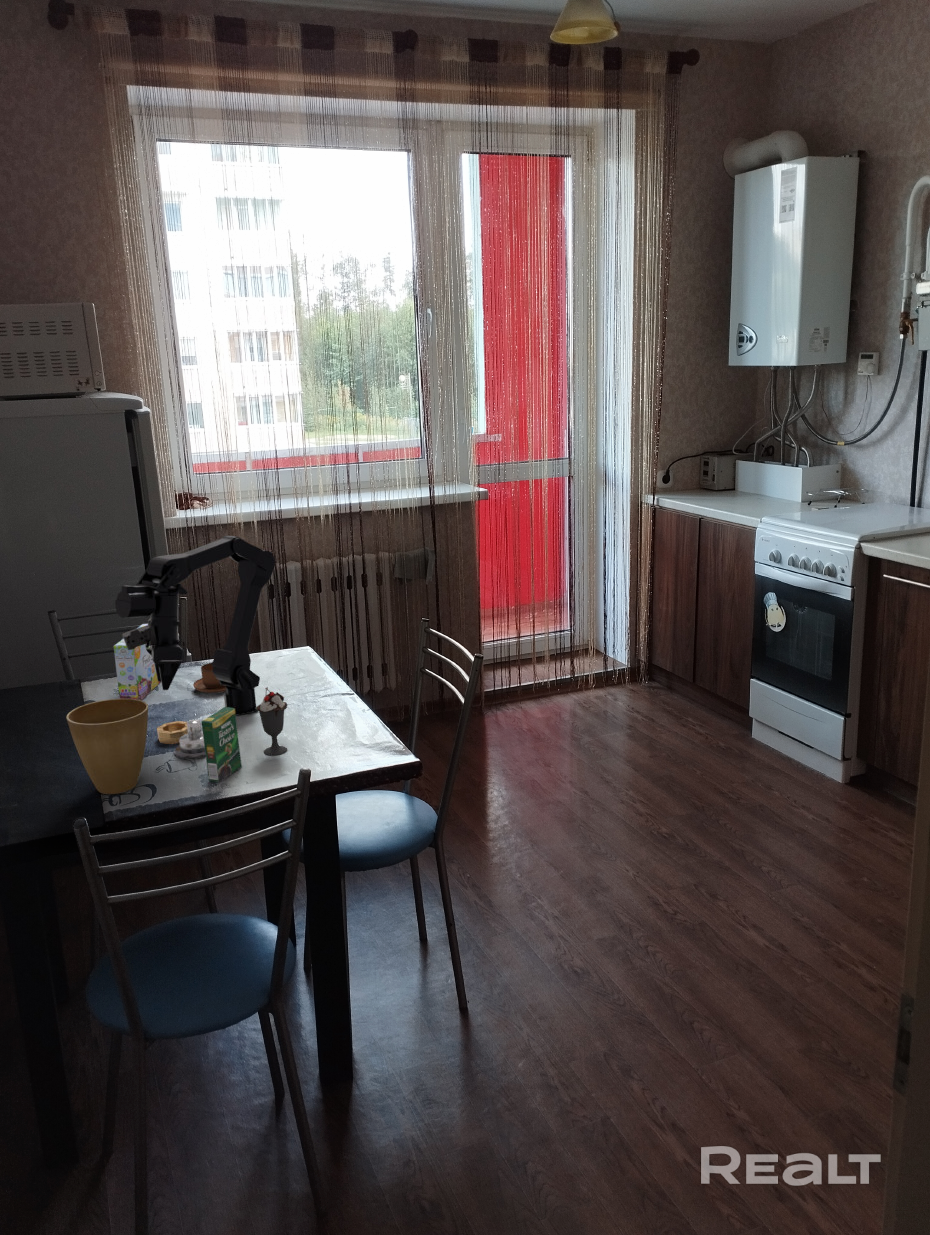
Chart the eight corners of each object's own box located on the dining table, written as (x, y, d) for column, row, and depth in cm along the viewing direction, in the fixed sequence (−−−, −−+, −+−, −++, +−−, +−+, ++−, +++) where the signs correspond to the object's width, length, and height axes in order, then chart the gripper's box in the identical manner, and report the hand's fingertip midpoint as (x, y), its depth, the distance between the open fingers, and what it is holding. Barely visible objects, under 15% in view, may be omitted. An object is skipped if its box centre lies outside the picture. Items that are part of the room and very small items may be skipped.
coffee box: (219, 783, 189) (212, 721, 186) (207, 782, 190) (200, 719, 187) (242, 767, 196) (236, 707, 193) (231, 766, 197) (224, 706, 194)
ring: (188, 729, 218) (187, 719, 218) (194, 739, 212) (192, 729, 211) (157, 735, 215) (155, 725, 215) (161, 746, 209) (159, 735, 209)
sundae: (265, 759, 200) (258, 691, 196) (256, 749, 206) (249, 682, 202) (295, 753, 203) (289, 685, 199) (286, 742, 208) (279, 677, 205)
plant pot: (147, 800, 183) (137, 721, 179) (68, 805, 182) (55, 726, 178) (165, 768, 197) (155, 695, 193) (91, 773, 196) (80, 699, 192)
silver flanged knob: (214, 739, 212) (210, 711, 210) (221, 753, 204) (218, 724, 202) (172, 747, 208) (168, 719, 207) (178, 761, 200) (174, 732, 199)
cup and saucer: (205, 681, 253) (202, 658, 251) (248, 681, 251) (246, 658, 249) (186, 696, 241) (183, 673, 240) (231, 697, 240) (229, 673, 238)
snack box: (141, 703, 237) (134, 645, 233) (119, 704, 237) (111, 645, 233) (168, 676, 258) (161, 622, 254) (147, 676, 258) (140, 622, 254)
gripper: (121, 609, 214) (120, 677, 216) (129, 621, 197) (127, 696, 199) (173, 609, 218) (171, 676, 220) (185, 621, 201) (183, 694, 204)
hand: (162, 685), depth 211 cm, fingers open, 9 cm apart
